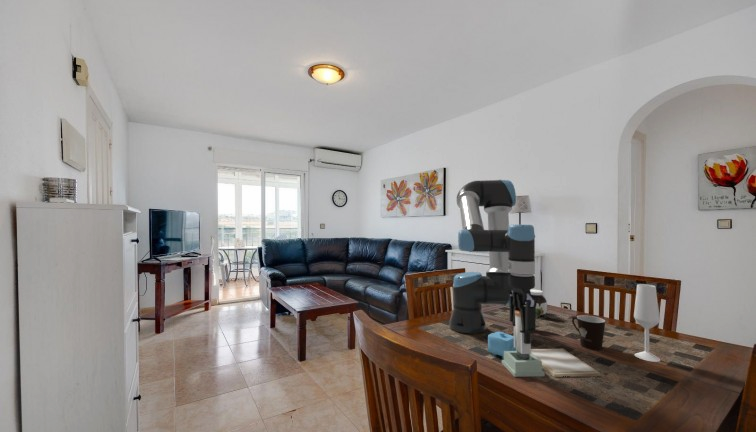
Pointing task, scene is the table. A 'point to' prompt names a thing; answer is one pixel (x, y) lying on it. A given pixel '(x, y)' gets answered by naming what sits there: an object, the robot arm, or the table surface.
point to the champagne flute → (646, 315)
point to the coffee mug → (590, 331)
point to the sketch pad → (563, 363)
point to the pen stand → (522, 365)
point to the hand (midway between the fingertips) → (522, 350)
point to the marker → (519, 336)
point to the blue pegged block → (500, 343)
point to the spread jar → (539, 300)
